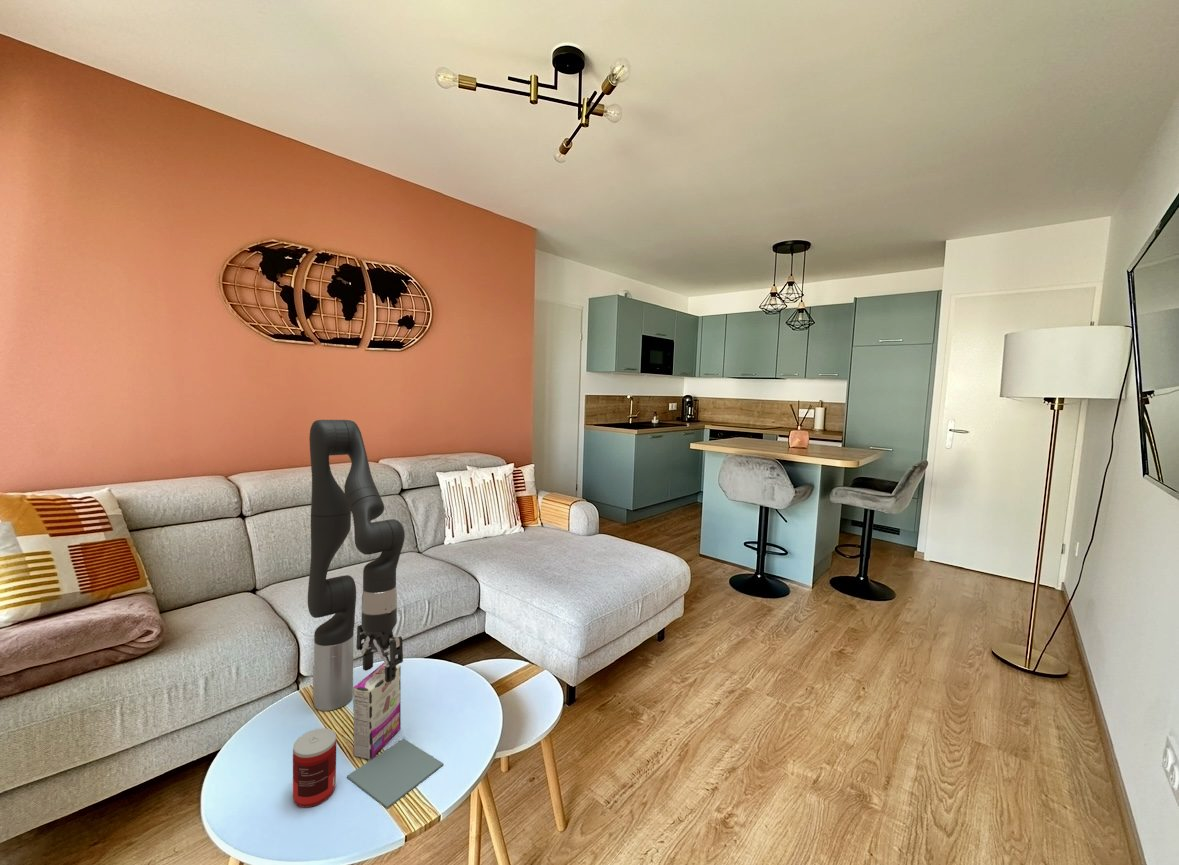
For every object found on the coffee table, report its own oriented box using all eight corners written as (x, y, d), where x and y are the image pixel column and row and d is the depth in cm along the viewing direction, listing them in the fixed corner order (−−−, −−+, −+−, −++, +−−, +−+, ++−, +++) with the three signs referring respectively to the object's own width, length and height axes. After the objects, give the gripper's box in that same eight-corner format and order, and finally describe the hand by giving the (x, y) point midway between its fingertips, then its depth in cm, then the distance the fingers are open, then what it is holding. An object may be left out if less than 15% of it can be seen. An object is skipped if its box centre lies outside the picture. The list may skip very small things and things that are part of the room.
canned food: (322, 772, 102) (322, 723, 101) (344, 788, 98) (344, 737, 97) (284, 796, 95) (284, 744, 95) (306, 815, 91) (306, 760, 91)
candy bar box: (383, 725, 118) (384, 661, 117) (401, 729, 116) (402, 664, 116) (351, 757, 107) (352, 686, 106) (370, 761, 106) (371, 690, 105)
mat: (346, 777, 101) (346, 775, 101) (403, 740, 113) (403, 738, 113) (387, 808, 93) (387, 806, 93) (443, 765, 105) (443, 763, 105)
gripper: (346, 604, 110) (345, 672, 111) (383, 620, 103) (383, 692, 103) (375, 594, 117) (375, 659, 117) (413, 608, 109) (412, 677, 110)
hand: (378, 674), depth 110 cm, fingers open, 8 cm apart
